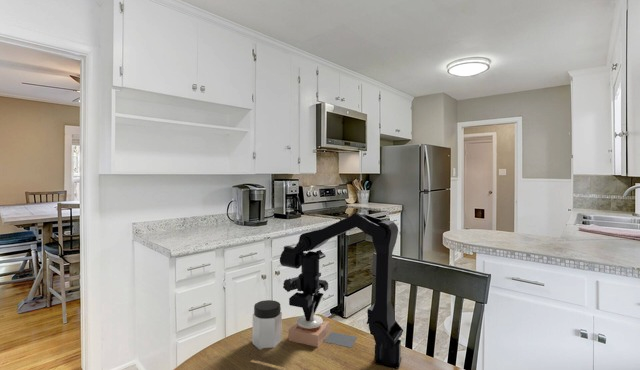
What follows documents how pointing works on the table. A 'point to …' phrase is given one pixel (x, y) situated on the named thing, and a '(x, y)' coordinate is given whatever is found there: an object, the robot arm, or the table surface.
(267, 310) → the jar
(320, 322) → the lid
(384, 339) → the robot arm
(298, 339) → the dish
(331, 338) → the mat
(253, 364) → the table surface
